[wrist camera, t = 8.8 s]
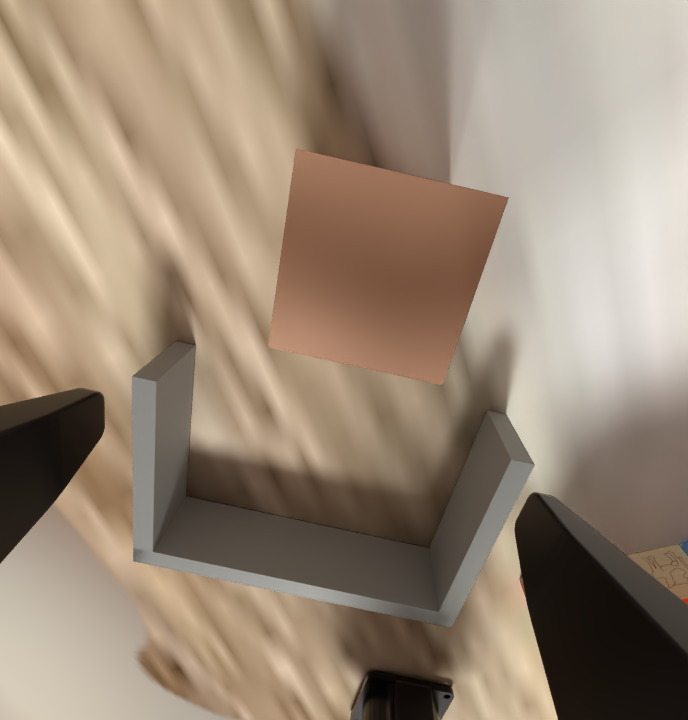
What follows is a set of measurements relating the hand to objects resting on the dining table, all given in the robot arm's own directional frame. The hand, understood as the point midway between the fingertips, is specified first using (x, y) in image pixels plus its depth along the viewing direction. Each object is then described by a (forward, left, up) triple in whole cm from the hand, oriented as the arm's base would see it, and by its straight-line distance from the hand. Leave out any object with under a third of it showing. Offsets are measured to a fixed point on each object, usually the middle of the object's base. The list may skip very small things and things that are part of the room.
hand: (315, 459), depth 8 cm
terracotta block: (+3, 0, -12) cm, 12 cm away
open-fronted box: (-9, 0, -12) cm, 14 cm away
